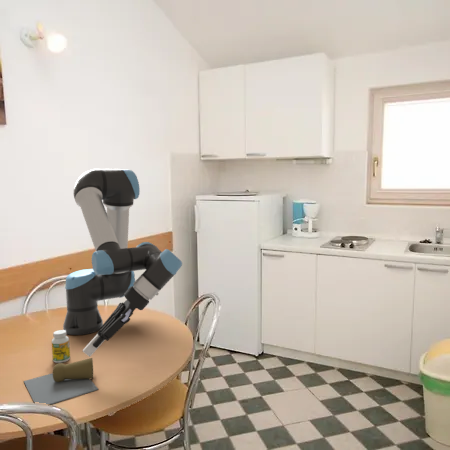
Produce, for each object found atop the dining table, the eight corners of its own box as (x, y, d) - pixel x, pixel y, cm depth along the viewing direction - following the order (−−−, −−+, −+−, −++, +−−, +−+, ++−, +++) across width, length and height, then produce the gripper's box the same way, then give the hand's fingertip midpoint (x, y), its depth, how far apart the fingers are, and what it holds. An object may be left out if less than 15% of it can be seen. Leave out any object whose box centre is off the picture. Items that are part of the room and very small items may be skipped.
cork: (91, 370, 117) (50, 375, 114) (93, 383, 120) (53, 388, 117) (91, 353, 122) (52, 358, 119) (93, 366, 125) (55, 371, 122)
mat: (23, 382, 119) (23, 381, 119) (78, 366, 128) (78, 365, 128) (37, 408, 104) (37, 407, 104) (98, 389, 114) (98, 388, 114)
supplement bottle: (71, 355, 137) (69, 328, 136) (68, 362, 132) (67, 334, 131) (54, 357, 136) (52, 329, 135) (51, 364, 131) (49, 335, 130)
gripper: (153, 306, 118) (96, 370, 114) (147, 295, 130) (95, 352, 127) (134, 290, 116) (75, 354, 112) (130, 280, 128) (76, 338, 125)
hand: (86, 353), depth 120 cm, fingers closed
